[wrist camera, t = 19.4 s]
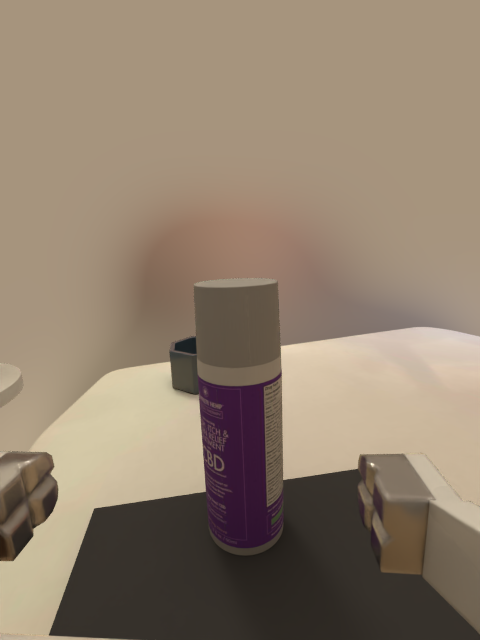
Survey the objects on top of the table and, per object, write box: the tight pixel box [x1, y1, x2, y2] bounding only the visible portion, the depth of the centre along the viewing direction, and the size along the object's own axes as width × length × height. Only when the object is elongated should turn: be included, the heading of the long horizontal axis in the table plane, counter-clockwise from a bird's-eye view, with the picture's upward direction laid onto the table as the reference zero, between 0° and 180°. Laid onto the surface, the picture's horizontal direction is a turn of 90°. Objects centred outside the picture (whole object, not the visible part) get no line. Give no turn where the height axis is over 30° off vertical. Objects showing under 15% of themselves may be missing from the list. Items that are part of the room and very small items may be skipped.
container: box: [194, 278, 284, 556], centre depth 19 cm, size 5×5×15 cm
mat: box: [49, 469, 480, 640], centre depth 17 cm, size 22×14×1 cm, turn 99°
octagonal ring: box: [170, 336, 199, 394], centre depth 44 cm, size 9×9×5 cm
